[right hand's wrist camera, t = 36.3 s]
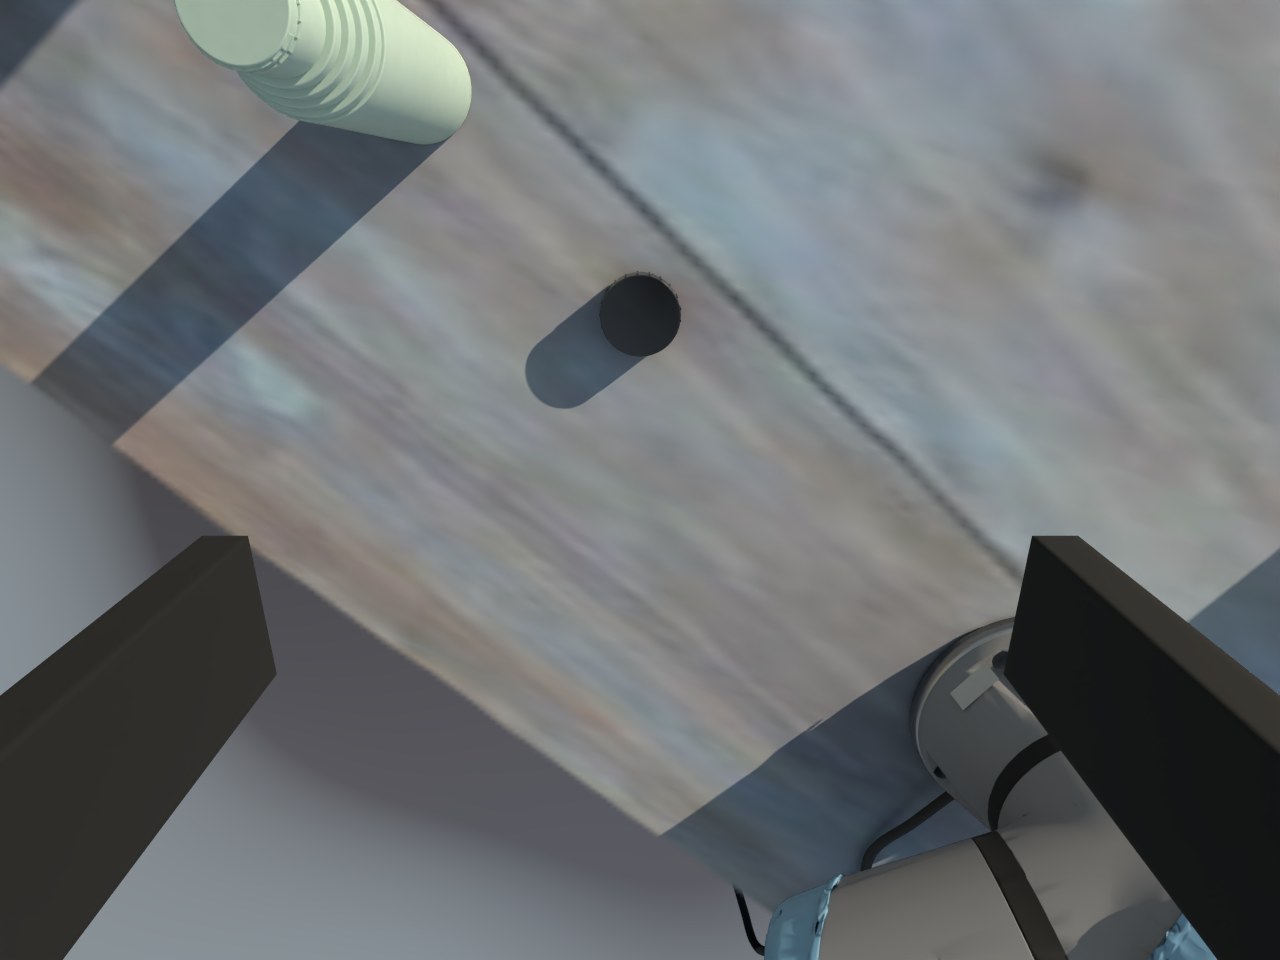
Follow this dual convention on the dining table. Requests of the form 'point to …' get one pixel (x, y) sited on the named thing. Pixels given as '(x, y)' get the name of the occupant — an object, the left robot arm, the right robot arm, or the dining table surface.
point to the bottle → (338, 63)
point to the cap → (640, 314)
